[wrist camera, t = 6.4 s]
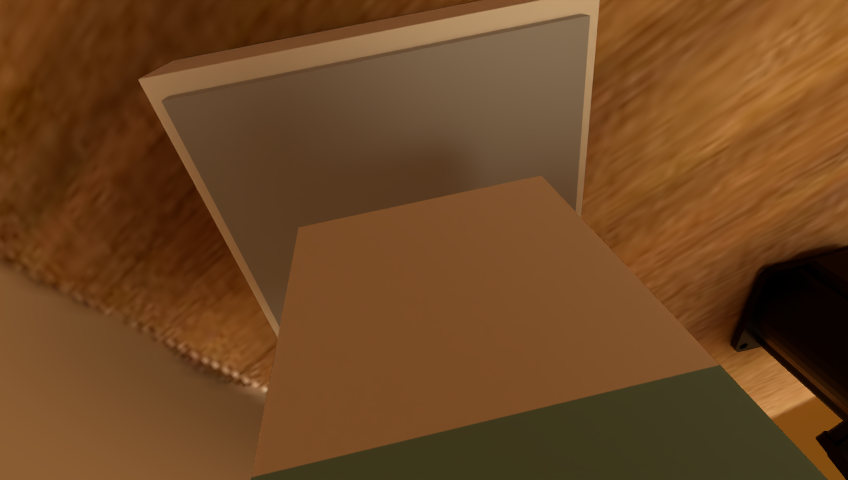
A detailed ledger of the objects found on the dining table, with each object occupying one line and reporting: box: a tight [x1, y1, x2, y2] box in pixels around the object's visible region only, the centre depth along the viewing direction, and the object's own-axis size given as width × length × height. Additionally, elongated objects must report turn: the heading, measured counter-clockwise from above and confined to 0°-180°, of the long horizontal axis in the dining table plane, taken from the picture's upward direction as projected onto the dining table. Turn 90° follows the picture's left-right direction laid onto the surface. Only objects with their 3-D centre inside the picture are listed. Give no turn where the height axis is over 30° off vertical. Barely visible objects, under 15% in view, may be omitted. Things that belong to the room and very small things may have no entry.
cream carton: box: [251, 175, 828, 480], centre depth 8 cm, size 5×7×6 cm
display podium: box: [138, 0, 599, 338], centre depth 15 cm, size 12×12×3 cm
